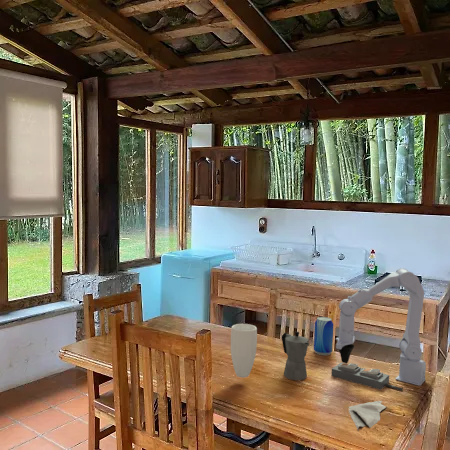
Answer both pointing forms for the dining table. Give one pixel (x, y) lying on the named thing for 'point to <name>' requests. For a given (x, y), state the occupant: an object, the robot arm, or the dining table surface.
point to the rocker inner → (371, 371)
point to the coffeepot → (295, 356)
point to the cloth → (366, 413)
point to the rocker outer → (349, 365)
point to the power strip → (363, 377)
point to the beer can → (323, 336)
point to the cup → (243, 348)
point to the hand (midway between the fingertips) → (344, 362)
